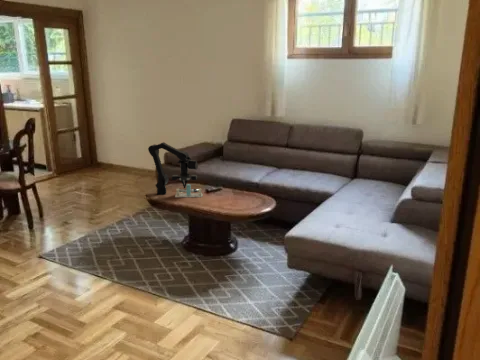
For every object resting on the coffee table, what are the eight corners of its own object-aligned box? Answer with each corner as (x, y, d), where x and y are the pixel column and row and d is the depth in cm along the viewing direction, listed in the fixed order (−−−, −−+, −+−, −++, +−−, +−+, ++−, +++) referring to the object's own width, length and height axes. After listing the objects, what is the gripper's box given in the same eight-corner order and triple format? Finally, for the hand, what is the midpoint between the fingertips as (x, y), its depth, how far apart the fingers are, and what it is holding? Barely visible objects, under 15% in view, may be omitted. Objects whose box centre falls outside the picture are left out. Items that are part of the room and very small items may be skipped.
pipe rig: (175, 197, 319) (174, 190, 317) (175, 194, 326) (175, 187, 325) (202, 197, 320) (202, 190, 319) (202, 194, 328) (202, 187, 326)
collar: (186, 194, 320) (186, 186, 318) (186, 192, 325) (186, 184, 323) (190, 194, 321) (190, 186, 319) (190, 192, 325) (190, 184, 324)
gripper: (170, 171, 309) (171, 191, 313) (196, 171, 310) (196, 191, 314) (172, 167, 320) (172, 187, 324) (196, 167, 321) (196, 187, 325)
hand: (184, 188), depth 321 cm, fingers closed
